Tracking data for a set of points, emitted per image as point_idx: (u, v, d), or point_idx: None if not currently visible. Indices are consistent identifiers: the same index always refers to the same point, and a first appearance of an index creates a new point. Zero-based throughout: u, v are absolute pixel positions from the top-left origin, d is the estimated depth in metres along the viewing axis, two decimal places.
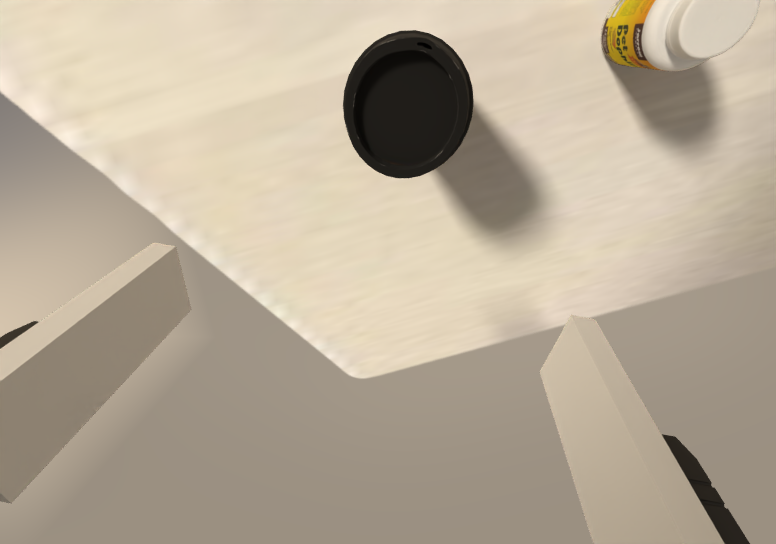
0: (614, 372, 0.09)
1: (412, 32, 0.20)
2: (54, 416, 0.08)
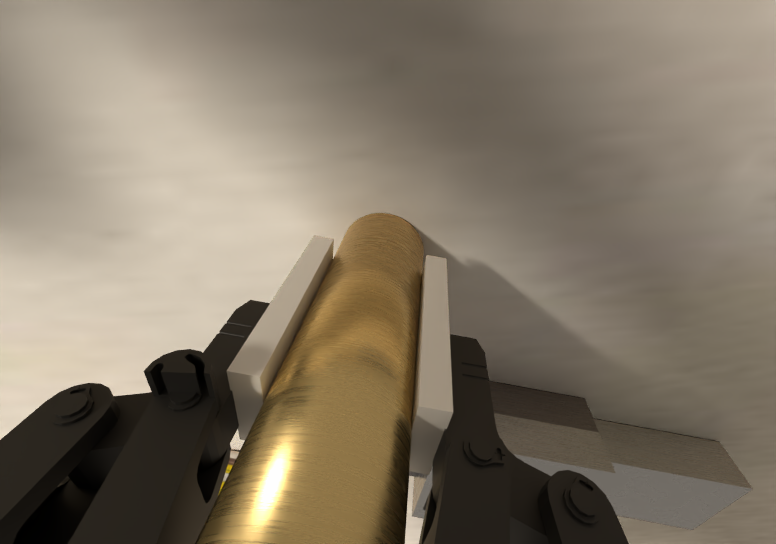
0: (438, 291, 0.11)
1: None
2: None
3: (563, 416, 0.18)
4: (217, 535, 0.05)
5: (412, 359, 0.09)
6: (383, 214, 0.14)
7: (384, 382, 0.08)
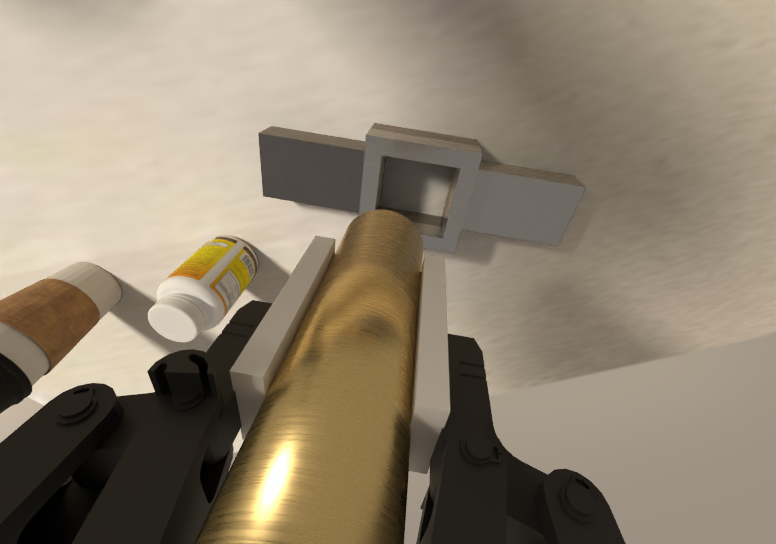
0: (436, 291, 0.11)
1: None
2: None
3: (457, 140, 0.26)
4: (228, 508, 0.05)
5: (412, 349, 0.10)
6: (384, 210, 0.15)
7: (386, 368, 0.08)
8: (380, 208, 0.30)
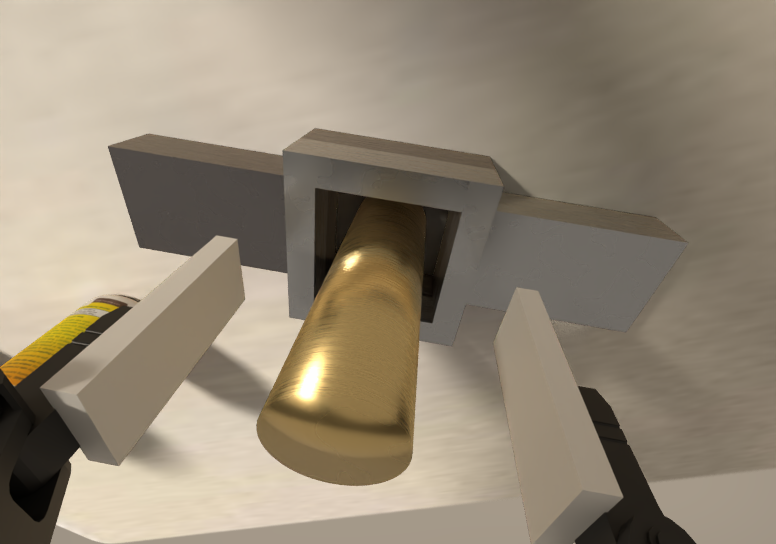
0: (545, 333, 0.10)
1: None
2: (150, 390, 0.09)
3: (455, 159, 0.14)
4: (290, 376, 0.08)
5: (418, 293, 0.12)
6: None
7: (399, 299, 0.10)
8: None
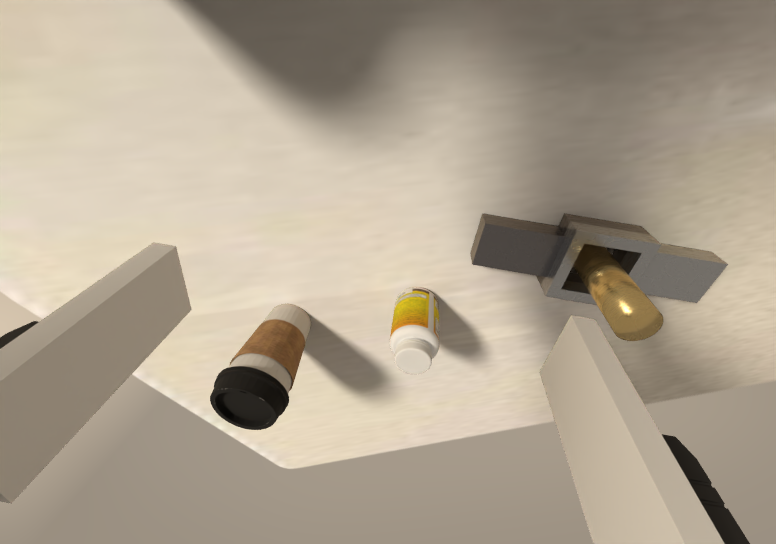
0: (614, 372, 0.09)
1: (242, 373, 0.36)
2: (54, 416, 0.08)
3: (632, 229, 0.35)
4: (628, 305, 0.28)
5: None
6: None
7: None
8: None
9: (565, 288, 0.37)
